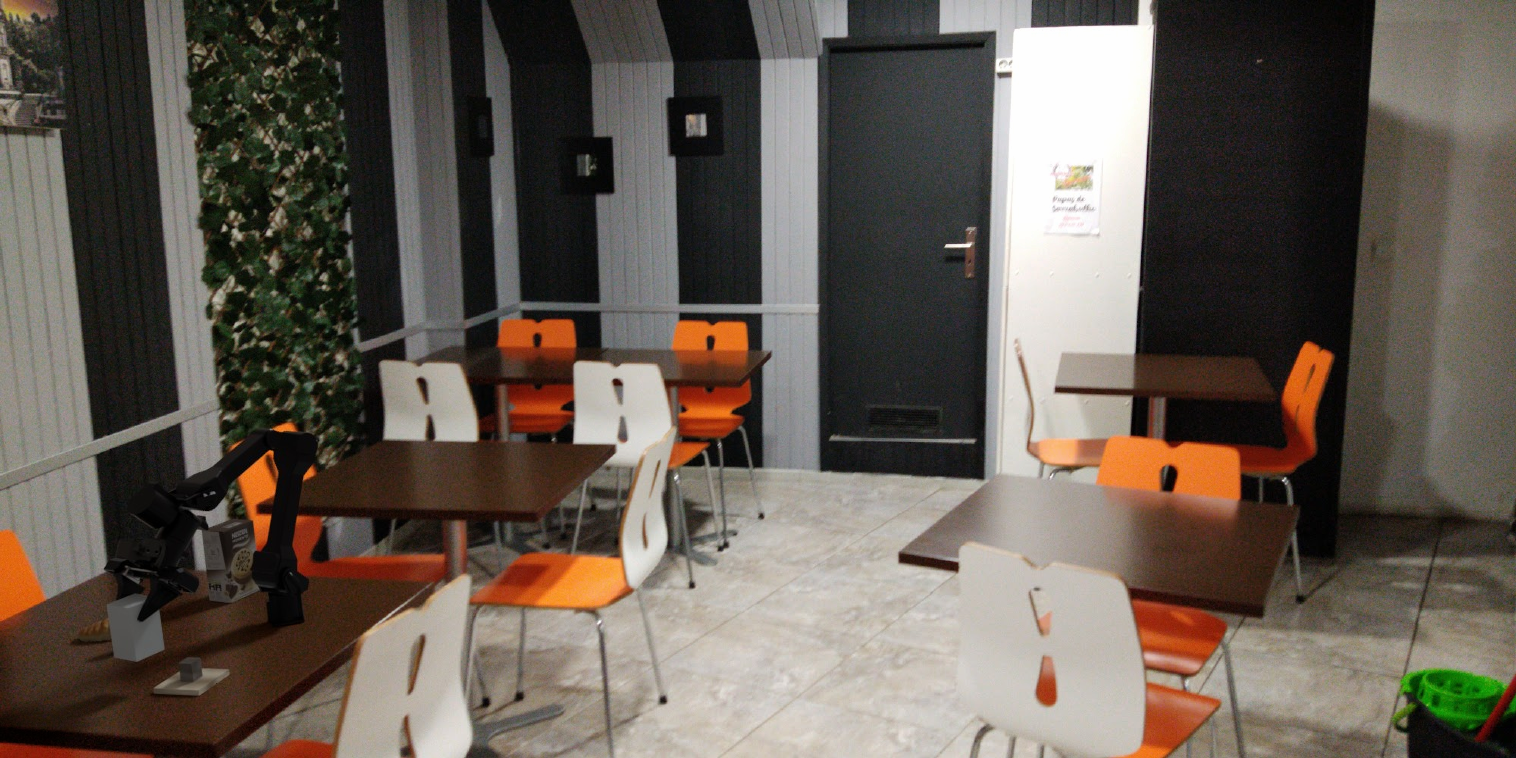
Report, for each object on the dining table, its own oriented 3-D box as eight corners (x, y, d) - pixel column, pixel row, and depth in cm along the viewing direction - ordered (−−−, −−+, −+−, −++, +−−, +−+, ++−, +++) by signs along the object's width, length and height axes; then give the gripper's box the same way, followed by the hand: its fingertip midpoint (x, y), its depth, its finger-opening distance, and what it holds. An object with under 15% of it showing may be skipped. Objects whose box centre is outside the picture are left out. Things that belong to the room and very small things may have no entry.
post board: (186, 672, 225) (182, 649, 225) (229, 674, 224) (226, 651, 223) (154, 693, 217) (150, 669, 216) (199, 695, 215) (196, 671, 214)
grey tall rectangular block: (142, 645, 223) (135, 593, 221) (164, 649, 220) (157, 596, 218) (114, 657, 217) (106, 604, 216) (136, 661, 215) (128, 608, 213)
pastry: (76, 647, 241) (73, 629, 240) (81, 635, 247) (78, 618, 246) (129, 638, 244) (126, 620, 243) (132, 627, 250) (130, 610, 250)
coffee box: (232, 603, 261) (223, 531, 258) (208, 601, 263) (199, 529, 261) (262, 589, 270) (254, 519, 267) (239, 587, 272) (231, 517, 269)
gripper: (105, 515, 222) (58, 593, 214) (177, 524, 214) (130, 605, 206) (148, 543, 230) (104, 619, 223) (219, 553, 222) (176, 632, 215)
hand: (127, 618), depth 216 cm, fingers closed on grey tall rectangular block, 6 cm apart
